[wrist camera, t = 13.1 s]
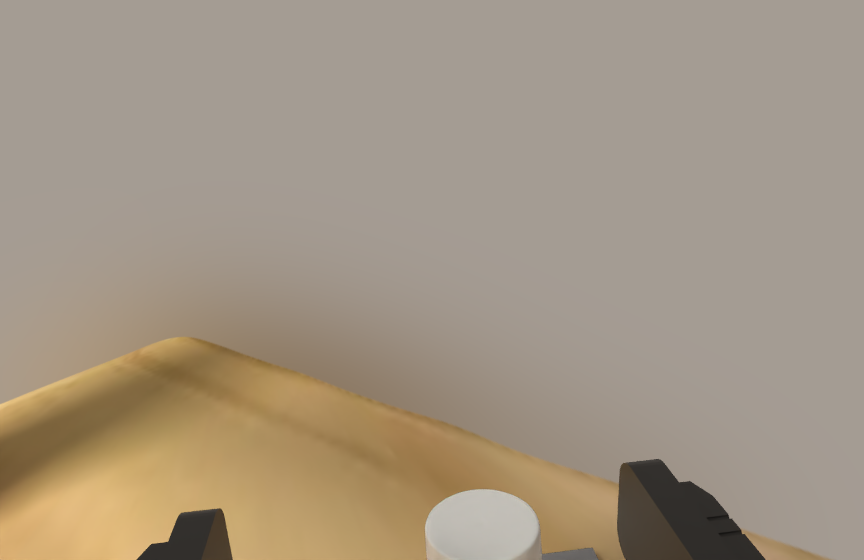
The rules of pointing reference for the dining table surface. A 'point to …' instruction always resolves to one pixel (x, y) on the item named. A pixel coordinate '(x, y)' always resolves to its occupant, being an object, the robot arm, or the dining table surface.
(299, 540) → the dining table surface
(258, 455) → the dining table surface
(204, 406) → the dining table surface
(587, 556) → the mat
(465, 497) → the pill bottle
